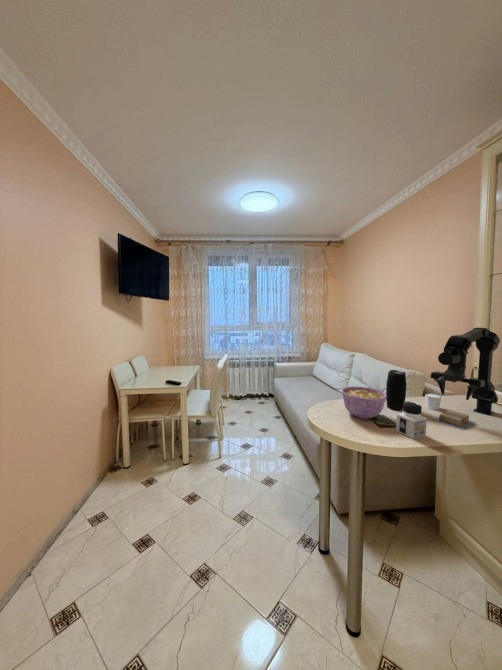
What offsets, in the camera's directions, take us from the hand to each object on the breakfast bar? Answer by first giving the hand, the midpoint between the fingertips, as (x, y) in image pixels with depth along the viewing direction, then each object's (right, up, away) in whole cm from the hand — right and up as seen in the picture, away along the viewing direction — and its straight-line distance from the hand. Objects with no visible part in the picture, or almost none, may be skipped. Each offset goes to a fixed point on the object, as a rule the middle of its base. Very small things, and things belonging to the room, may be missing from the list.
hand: (454, 397), depth 115 cm
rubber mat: (0, -12, +1) cm, 12 cm away
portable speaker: (-17, -10, +18) cm, 27 cm away
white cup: (+2, -11, +17) cm, 21 cm away
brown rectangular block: (0, -11, +1) cm, 11 cm away
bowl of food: (-39, -11, +8) cm, 41 cm away
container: (-27, -13, -11) cm, 32 cm away
